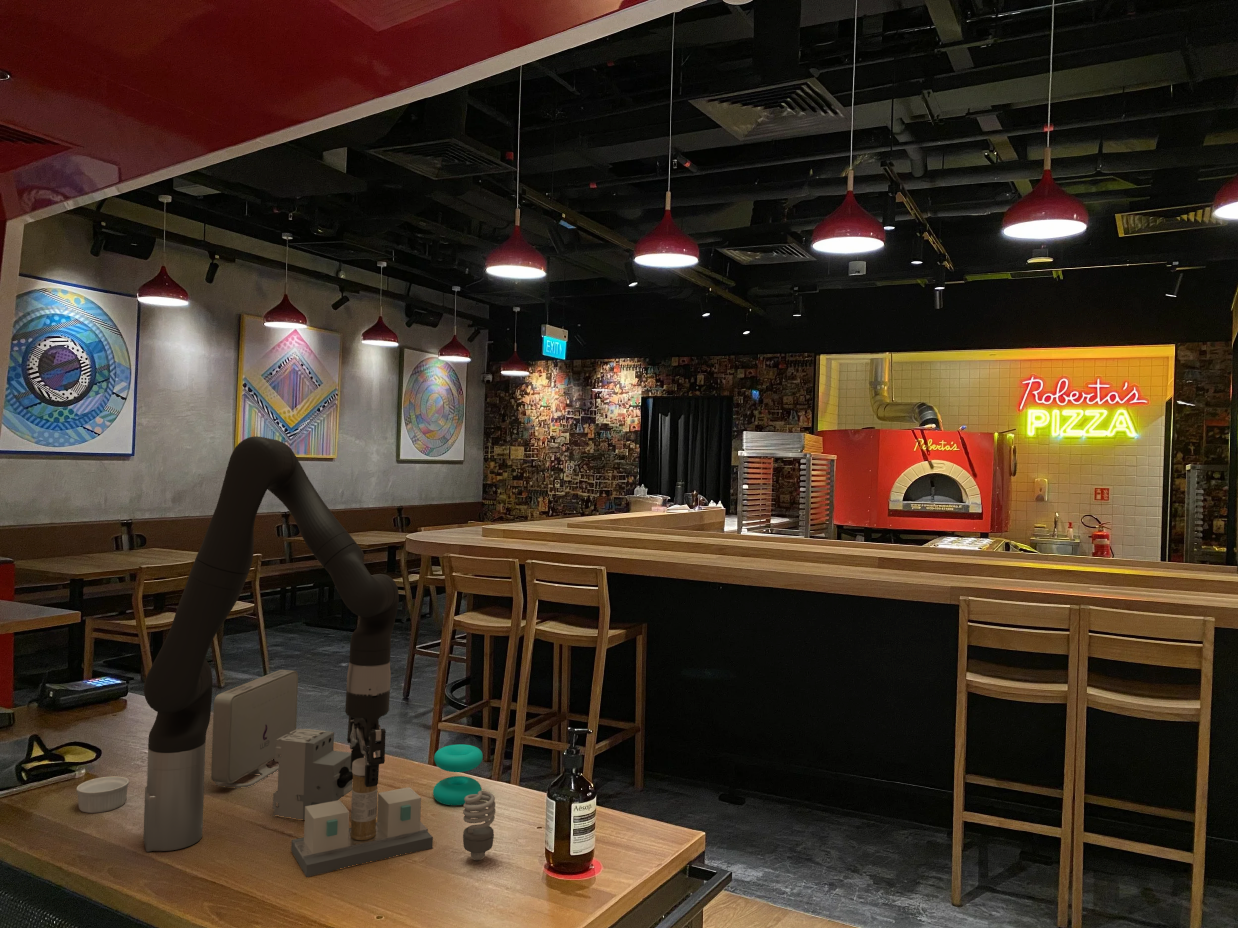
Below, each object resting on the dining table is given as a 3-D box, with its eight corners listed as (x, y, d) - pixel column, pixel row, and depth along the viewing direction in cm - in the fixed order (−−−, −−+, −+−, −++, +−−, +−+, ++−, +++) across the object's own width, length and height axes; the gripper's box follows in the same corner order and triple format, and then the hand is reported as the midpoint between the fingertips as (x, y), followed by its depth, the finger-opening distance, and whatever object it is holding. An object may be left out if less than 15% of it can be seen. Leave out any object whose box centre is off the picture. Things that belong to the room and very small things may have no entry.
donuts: (424, 751, 175) (456, 739, 184) (422, 800, 175) (455, 785, 184) (461, 761, 170) (492, 748, 179) (459, 811, 170) (491, 795, 179)
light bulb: (479, 850, 153) (481, 783, 153) (500, 860, 150) (502, 791, 150) (454, 860, 149) (457, 792, 149) (476, 871, 145) (478, 800, 145)
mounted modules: (313, 855, 143) (314, 820, 144) (303, 840, 149) (305, 806, 149) (421, 832, 154) (422, 799, 154) (408, 818, 160) (409, 786, 160)
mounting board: (306, 876, 141) (306, 864, 141) (291, 850, 150) (291, 839, 150) (432, 847, 153) (432, 836, 153) (411, 825, 163) (411, 815, 163)
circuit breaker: (339, 825, 162) (342, 746, 162) (272, 816, 165) (275, 739, 165) (359, 809, 169) (361, 734, 169) (294, 802, 172) (297, 727, 172)
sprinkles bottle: (367, 828, 155) (369, 754, 155) (381, 835, 152) (383, 760, 152) (344, 835, 152) (347, 760, 152) (358, 843, 149) (361, 766, 149)
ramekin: (66, 808, 166) (66, 786, 166) (111, 793, 173) (112, 772, 173) (92, 818, 161) (93, 795, 161) (138, 802, 169) (138, 781, 169)
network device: (236, 795, 174) (240, 698, 174) (198, 791, 176) (202, 694, 176) (304, 755, 199) (307, 669, 200) (270, 751, 201) (273, 667, 201)
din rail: (303, 858, 143) (303, 855, 143) (294, 845, 148) (294, 842, 148) (427, 831, 156) (427, 828, 156) (416, 819, 161) (416, 817, 161)
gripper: (336, 679, 156) (331, 768, 156) (359, 699, 144) (354, 795, 144) (376, 676, 160) (372, 762, 160) (402, 694, 148) (397, 787, 148)
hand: (363, 777), depth 152 cm, fingers open, 8 cm apart
